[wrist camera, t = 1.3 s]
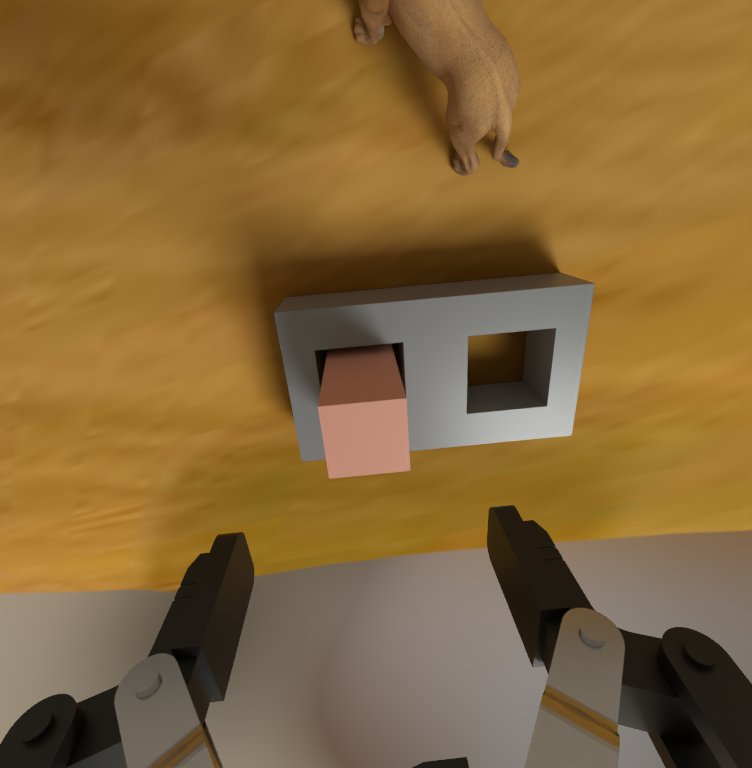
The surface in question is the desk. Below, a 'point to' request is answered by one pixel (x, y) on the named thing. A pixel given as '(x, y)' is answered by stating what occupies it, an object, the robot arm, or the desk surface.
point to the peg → (363, 412)
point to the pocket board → (447, 355)
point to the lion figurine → (456, 67)
